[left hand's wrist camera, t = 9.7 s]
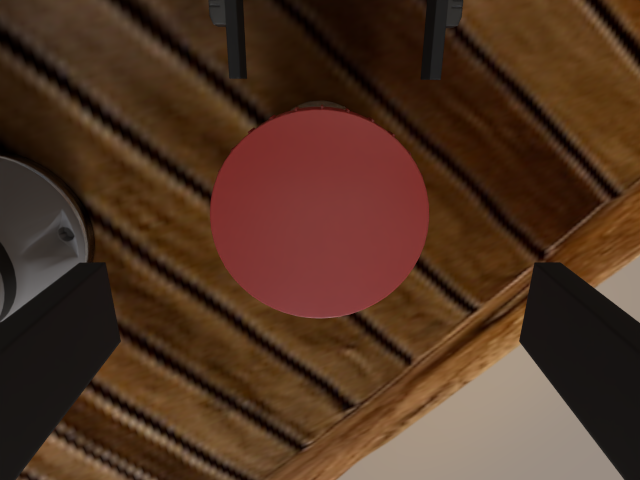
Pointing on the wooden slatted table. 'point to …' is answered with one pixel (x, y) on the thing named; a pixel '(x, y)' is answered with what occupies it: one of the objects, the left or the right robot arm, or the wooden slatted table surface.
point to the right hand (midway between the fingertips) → (334, 79)
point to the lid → (319, 212)
